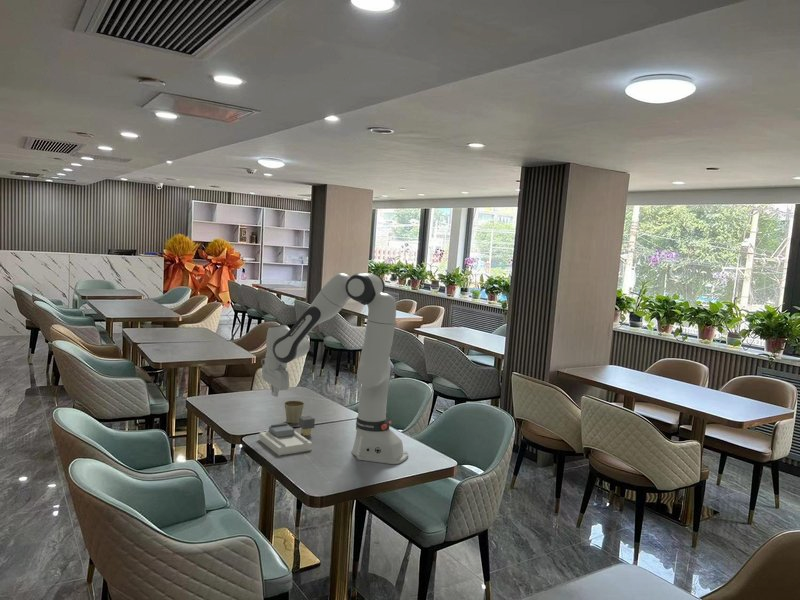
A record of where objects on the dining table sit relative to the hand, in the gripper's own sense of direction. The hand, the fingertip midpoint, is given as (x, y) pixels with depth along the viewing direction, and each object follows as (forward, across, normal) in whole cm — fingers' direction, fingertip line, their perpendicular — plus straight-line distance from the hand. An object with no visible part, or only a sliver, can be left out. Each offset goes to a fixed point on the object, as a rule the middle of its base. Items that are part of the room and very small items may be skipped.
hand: (274, 395), depth 244 cm
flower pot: (+17, +14, -16) cm, 28 cm away
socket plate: (+17, -12, 0) cm, 21 cm away
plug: (+17, -4, -13) cm, 22 cm away
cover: (+14, -8, 0) cm, 16 cm away
